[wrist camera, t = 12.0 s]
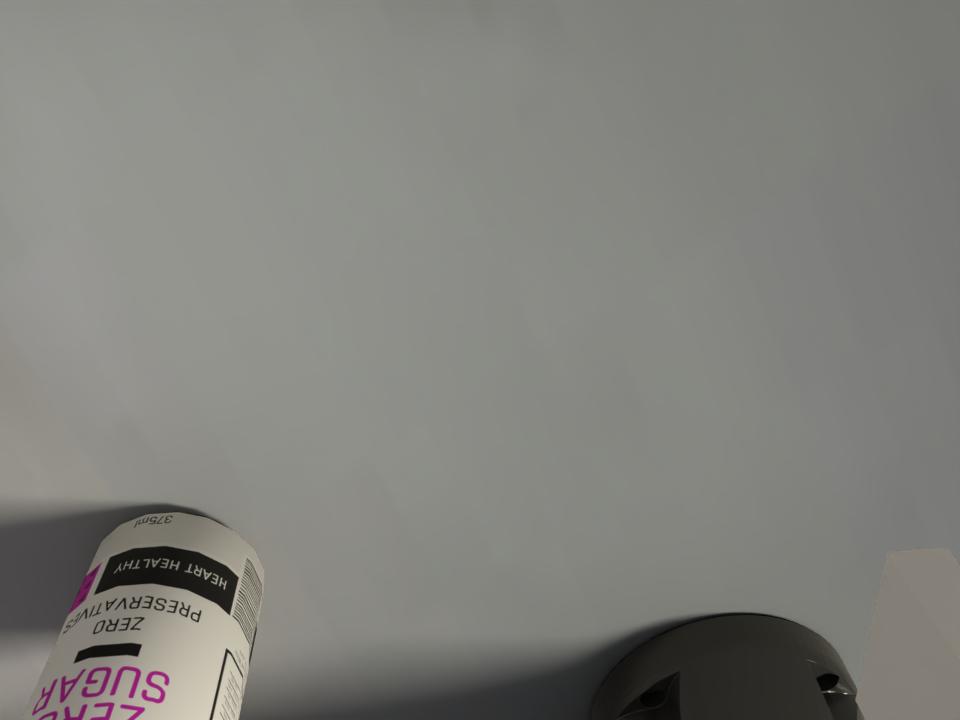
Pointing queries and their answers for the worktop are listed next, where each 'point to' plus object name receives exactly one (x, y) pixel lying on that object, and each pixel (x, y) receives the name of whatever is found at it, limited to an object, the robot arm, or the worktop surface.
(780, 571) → the worktop surface
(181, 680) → the supplement can
